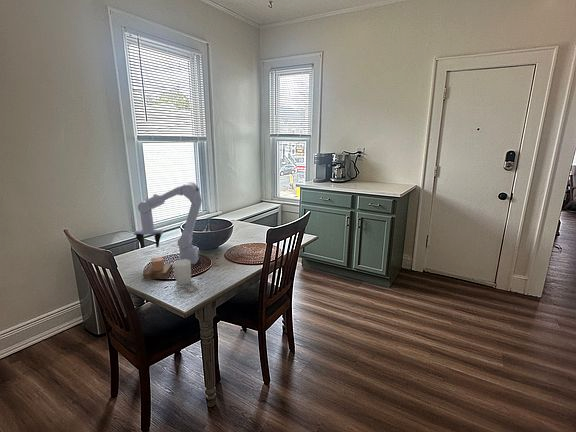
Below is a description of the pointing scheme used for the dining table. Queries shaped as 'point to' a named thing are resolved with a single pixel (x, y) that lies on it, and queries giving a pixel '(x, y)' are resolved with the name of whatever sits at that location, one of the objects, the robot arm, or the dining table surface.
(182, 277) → the white cup
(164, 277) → the base
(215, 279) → the dining table surface
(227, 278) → the dining table surface
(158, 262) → the cube
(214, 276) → the dining table surface
